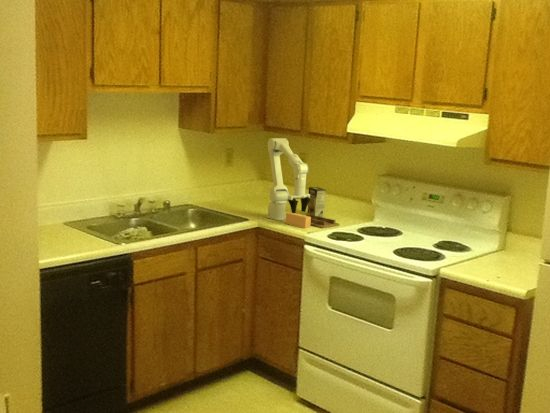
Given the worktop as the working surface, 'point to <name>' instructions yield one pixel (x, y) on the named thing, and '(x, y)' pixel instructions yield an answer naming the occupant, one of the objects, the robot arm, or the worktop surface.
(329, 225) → the drying rack
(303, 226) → the orange rectangular block
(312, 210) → the coffee box
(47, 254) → the worktop surface
